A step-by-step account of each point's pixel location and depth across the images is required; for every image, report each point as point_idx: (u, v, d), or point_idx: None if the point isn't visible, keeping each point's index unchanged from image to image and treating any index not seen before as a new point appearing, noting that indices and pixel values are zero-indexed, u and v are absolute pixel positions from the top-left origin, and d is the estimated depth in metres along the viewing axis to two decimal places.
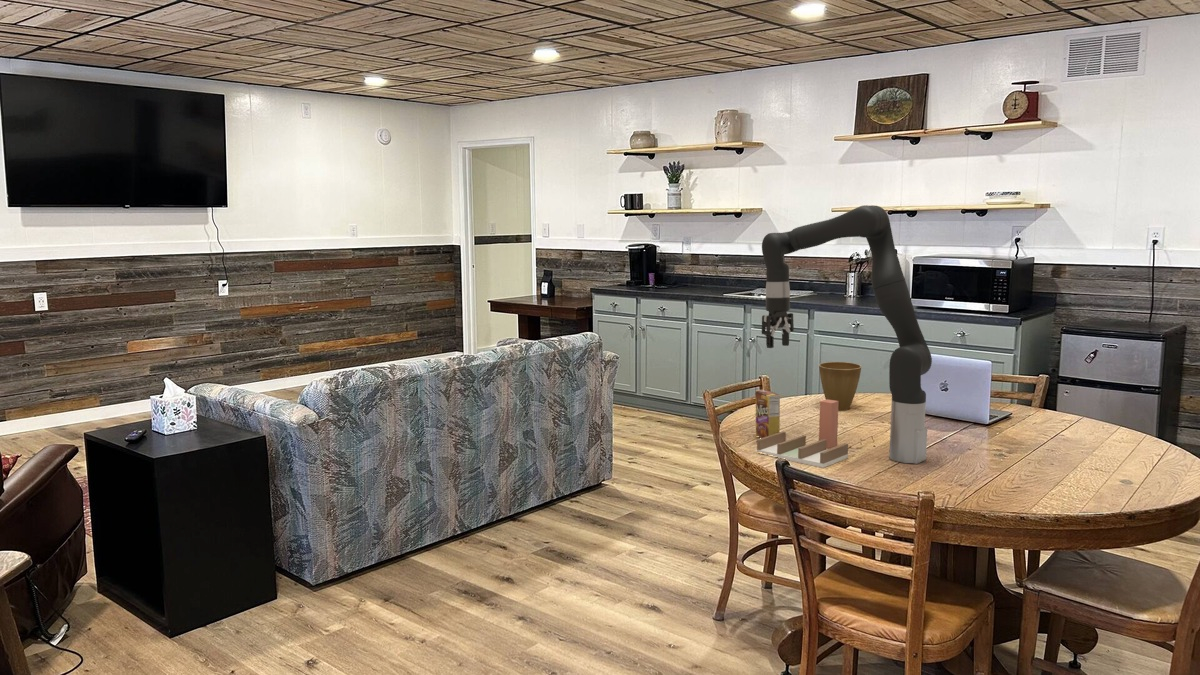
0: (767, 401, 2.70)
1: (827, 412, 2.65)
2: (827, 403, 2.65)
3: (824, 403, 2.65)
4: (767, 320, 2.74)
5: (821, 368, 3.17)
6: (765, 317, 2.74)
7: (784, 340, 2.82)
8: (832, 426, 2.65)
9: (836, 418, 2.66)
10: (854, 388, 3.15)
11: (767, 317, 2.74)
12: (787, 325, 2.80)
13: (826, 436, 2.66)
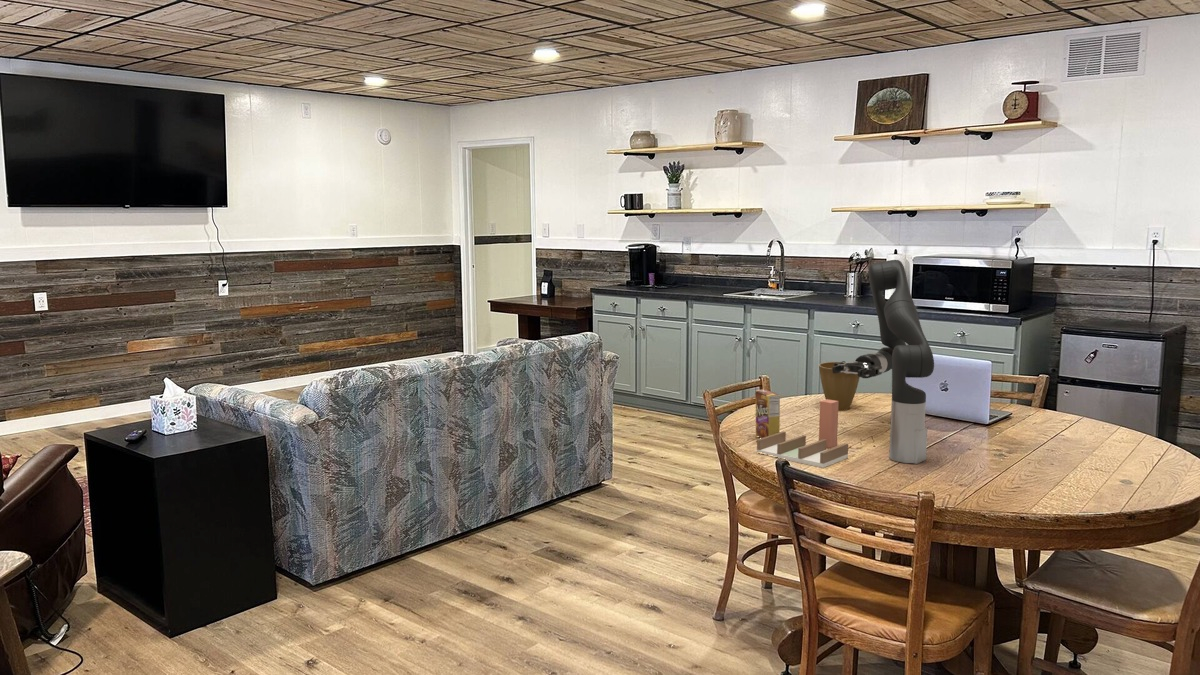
0: (767, 401, 2.70)
1: (827, 412, 2.65)
2: (827, 403, 2.65)
3: (824, 403, 2.65)
4: None
5: (821, 368, 3.17)
6: None
7: None
8: (832, 426, 2.65)
9: (836, 418, 2.66)
10: (854, 388, 3.15)
11: None
12: (865, 364, 2.75)
13: (826, 436, 2.66)
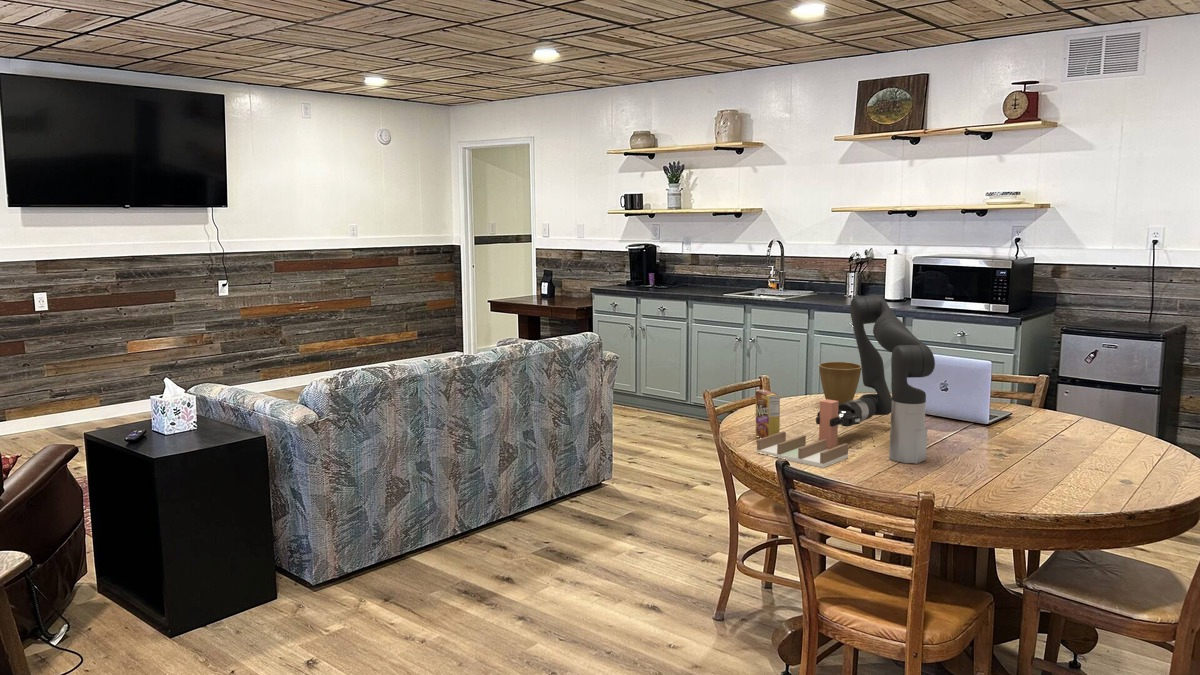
0: (767, 401, 2.70)
1: (827, 412, 2.65)
2: (827, 403, 2.64)
3: (824, 403, 2.65)
4: None
5: (821, 368, 3.17)
6: None
7: None
8: None
9: None
10: (854, 388, 3.15)
11: None
12: (841, 413, 2.69)
13: (826, 436, 2.66)
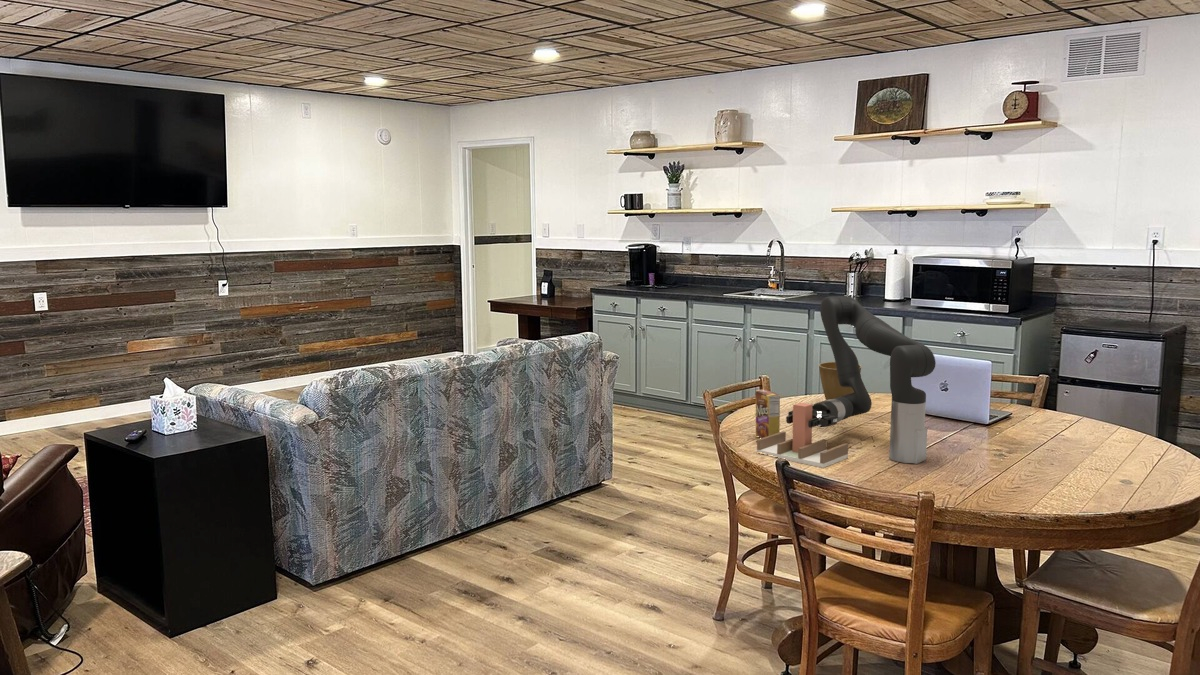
0: (767, 401, 2.70)
1: (801, 416, 2.54)
2: (800, 406, 2.54)
3: (797, 406, 2.54)
4: None
5: (821, 368, 3.17)
6: None
7: None
8: (806, 430, 2.54)
9: None
10: None
11: None
12: (818, 413, 2.57)
13: (799, 441, 2.55)
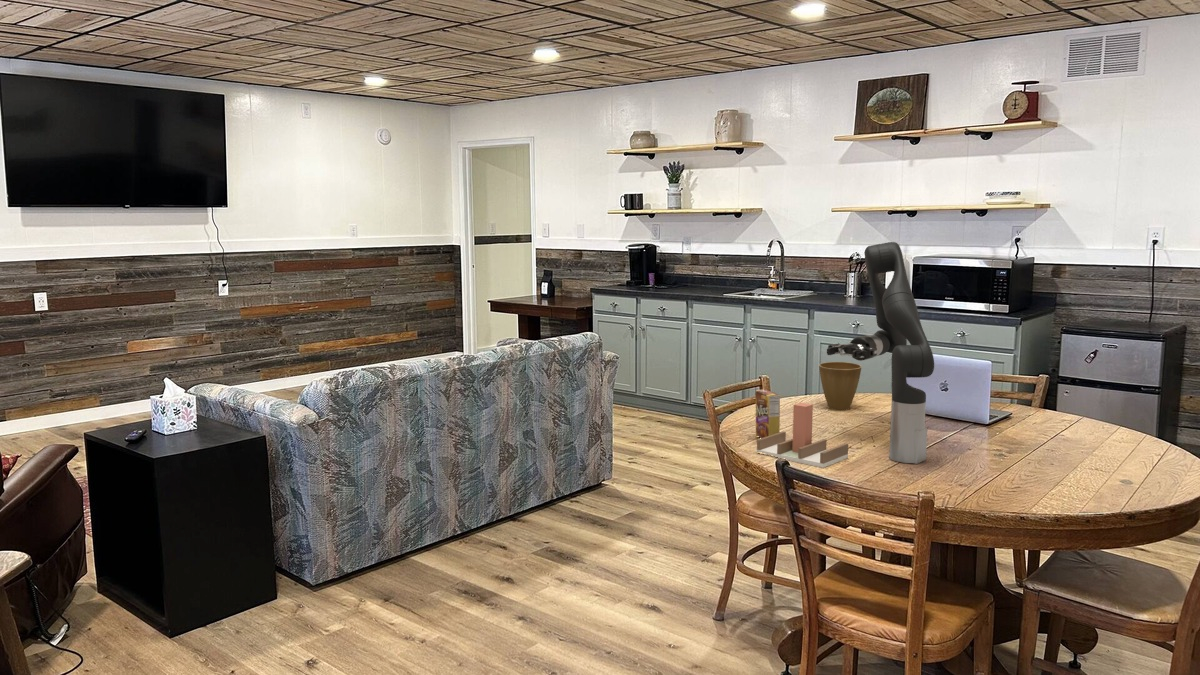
0: (767, 401, 2.70)
1: (801, 416, 2.54)
2: (801, 407, 2.54)
3: (798, 407, 2.54)
4: None
5: (821, 368, 3.17)
6: None
7: None
8: (806, 430, 2.54)
9: (810, 422, 2.56)
10: (854, 388, 3.15)
11: None
12: (860, 346, 2.71)
13: (800, 441, 2.55)
